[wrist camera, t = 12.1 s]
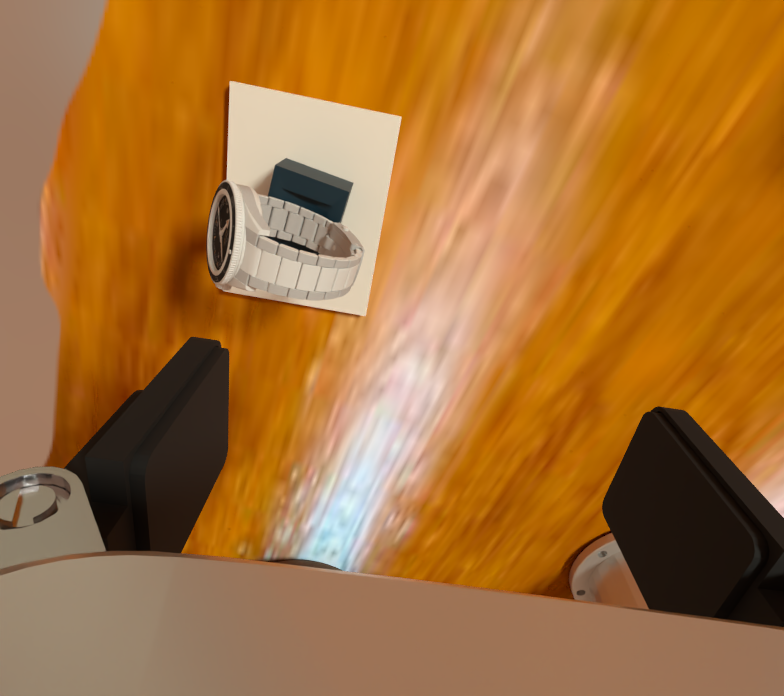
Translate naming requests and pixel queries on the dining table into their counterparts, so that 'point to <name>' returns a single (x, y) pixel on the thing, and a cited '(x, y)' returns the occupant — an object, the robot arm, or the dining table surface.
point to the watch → (284, 235)
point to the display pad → (316, 164)
